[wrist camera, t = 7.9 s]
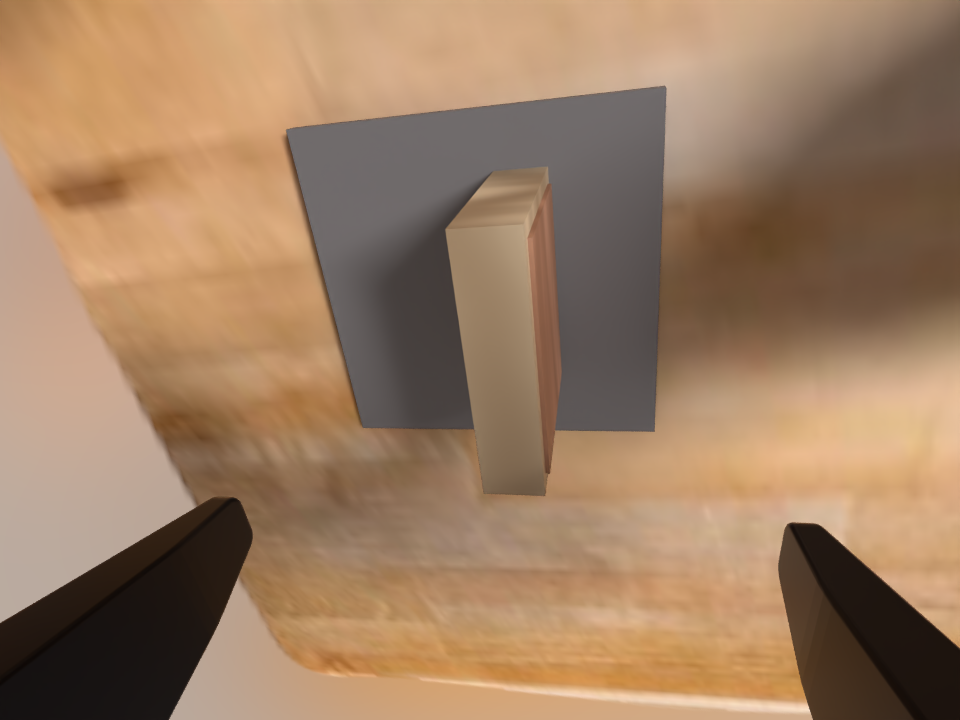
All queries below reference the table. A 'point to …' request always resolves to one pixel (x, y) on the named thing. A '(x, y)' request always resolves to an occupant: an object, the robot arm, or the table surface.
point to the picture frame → (509, 326)
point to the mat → (425, 258)
